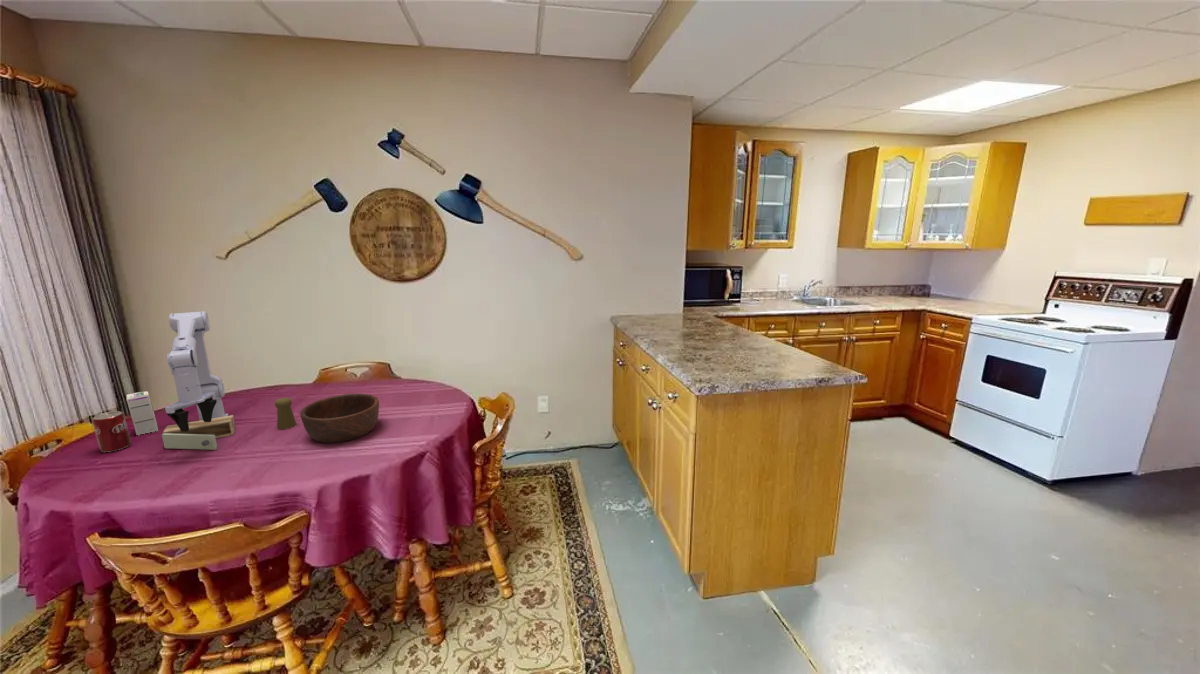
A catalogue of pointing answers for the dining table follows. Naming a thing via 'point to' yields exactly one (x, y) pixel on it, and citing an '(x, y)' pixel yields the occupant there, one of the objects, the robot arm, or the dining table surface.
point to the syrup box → (142, 412)
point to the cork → (284, 413)
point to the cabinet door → (189, 441)
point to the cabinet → (207, 427)
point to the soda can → (111, 431)
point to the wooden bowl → (340, 417)
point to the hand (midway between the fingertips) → (196, 426)
